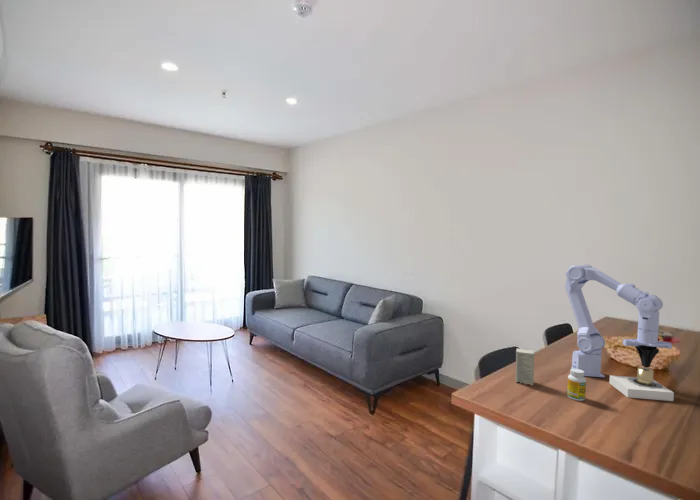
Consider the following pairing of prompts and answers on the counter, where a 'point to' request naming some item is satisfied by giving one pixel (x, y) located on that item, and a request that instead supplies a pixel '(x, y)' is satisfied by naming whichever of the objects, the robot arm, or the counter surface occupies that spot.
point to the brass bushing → (645, 376)
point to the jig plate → (640, 389)
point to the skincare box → (525, 366)
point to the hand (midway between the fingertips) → (645, 366)
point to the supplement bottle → (576, 385)
